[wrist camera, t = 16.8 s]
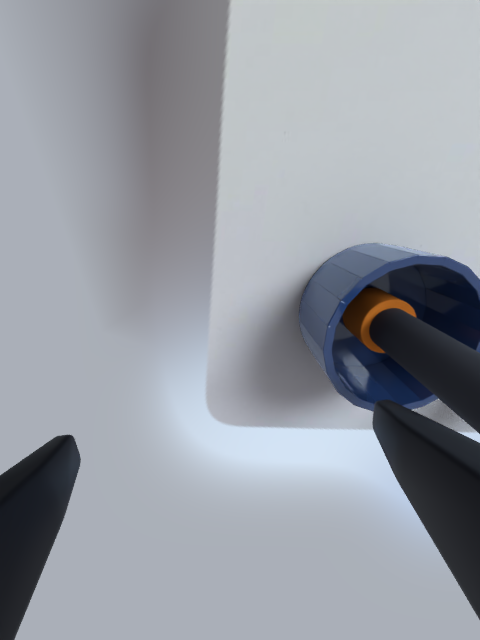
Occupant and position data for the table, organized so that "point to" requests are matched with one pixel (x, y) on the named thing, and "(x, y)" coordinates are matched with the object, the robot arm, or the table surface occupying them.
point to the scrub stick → (418, 350)
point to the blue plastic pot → (402, 282)
